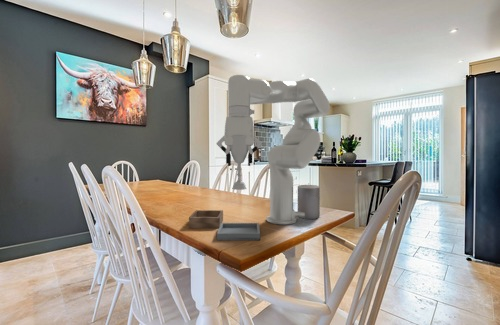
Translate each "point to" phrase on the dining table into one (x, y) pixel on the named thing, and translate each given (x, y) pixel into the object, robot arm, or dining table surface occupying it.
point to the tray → (238, 231)
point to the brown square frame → (206, 219)
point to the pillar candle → (309, 201)
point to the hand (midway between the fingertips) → (239, 165)
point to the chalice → (239, 158)
